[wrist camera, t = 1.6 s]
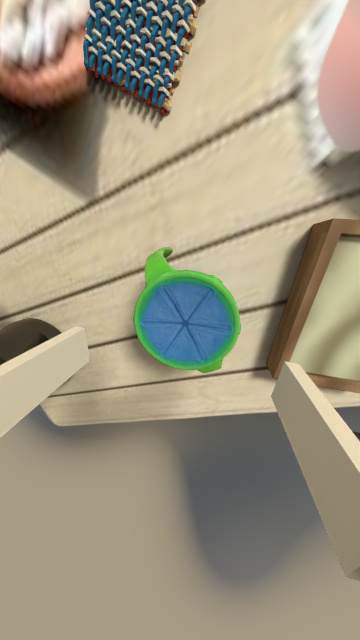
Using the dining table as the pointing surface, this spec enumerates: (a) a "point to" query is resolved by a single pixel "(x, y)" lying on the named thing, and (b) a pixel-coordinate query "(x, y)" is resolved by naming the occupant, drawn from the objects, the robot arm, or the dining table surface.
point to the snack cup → (185, 316)
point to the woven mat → (139, 45)
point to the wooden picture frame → (324, 309)
